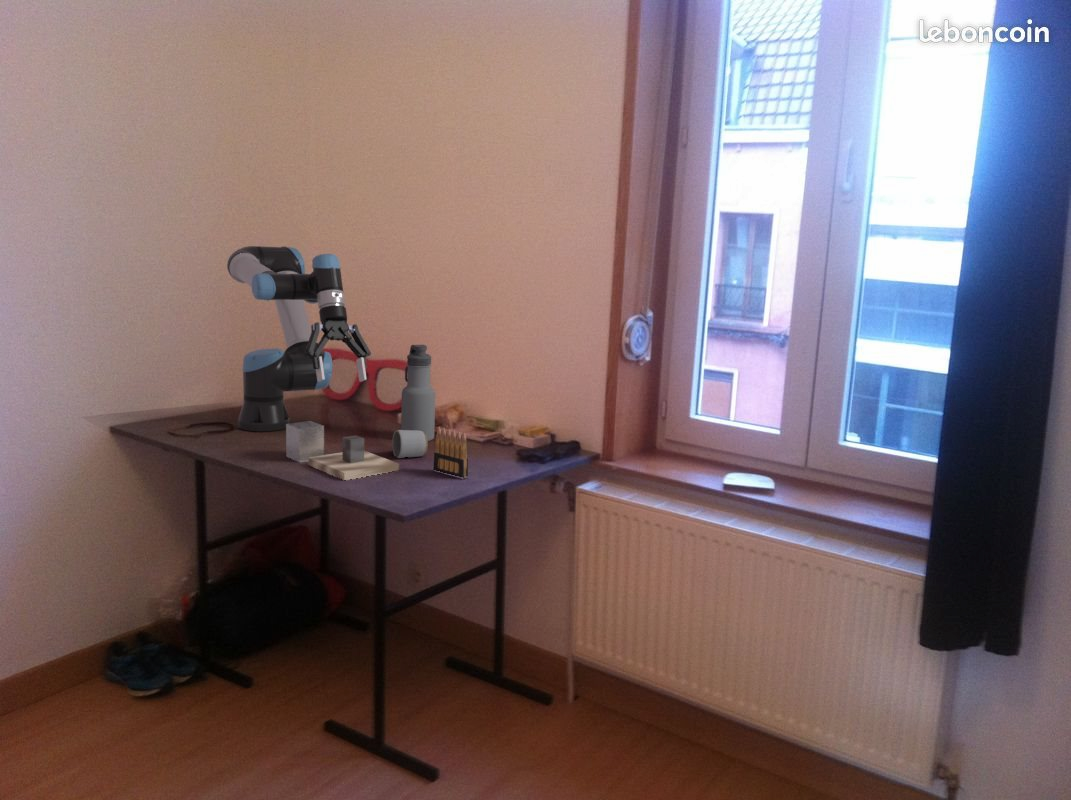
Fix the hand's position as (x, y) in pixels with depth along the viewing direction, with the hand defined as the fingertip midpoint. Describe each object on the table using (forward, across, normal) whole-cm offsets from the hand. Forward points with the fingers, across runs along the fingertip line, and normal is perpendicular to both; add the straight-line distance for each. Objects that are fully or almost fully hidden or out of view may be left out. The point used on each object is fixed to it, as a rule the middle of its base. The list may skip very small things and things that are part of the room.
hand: (342, 380), depth 256 cm
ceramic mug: (+24, +10, -11) cm, 29 cm away
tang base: (+27, -9, -13) cm, 31 cm away
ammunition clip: (+33, +7, -32) cm, 46 cm away
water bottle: (+18, +24, +2) cm, 30 cm away
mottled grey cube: (+21, -14, +2) cm, 25 cm away
